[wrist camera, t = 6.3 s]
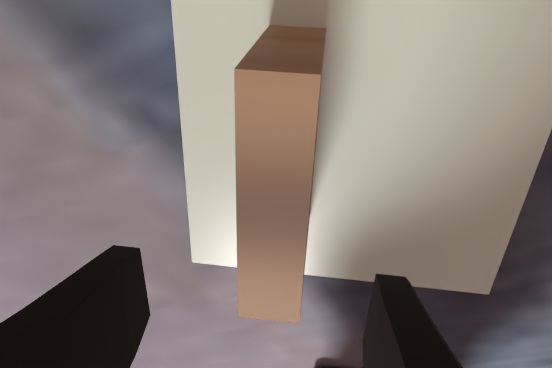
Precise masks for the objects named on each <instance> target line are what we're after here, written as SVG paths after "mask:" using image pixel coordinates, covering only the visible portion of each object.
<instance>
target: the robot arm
mask: <svg viewBox="0 0 552 368" xmlns="http://www.w3.org/2000/svg"><path fill="white" fill-rule="evenodd" d="M149 317H150V310H149V304H148V298H147V291H146V285H145V278H144V272H143V265H142V259H141V253H140V248H134V247H124V246H115V245H113V246H112V247H110V248H109V249H107V250H106V251H104V252H103V253H101V254H100V255H98V256H97V257H96V258H94V259H93V260H91V261H90V262H89V263H87V264H86V265H84V266H83V267H82V268H80V269H79V270H77V271H76V272H75V273H73V274H72V275H70V276H69V277H68V278H66V279H65V280H63V281H62V282H61V283H59V284H58V285H56V286H55V287H53V288H52V289H51V290H49V291H48V292H46V293H45V294H43V295H42V296H41V297H39V298H38V299H36V300H35V301H33V302H32V303H31V304H29V305H28V306H26V307H25V308H23V309H22V310H20V311H19V312H17V313H16V314H14V315H12V316H11V317H9V318H8V319H6V320H5V321H3V322H2V323H0V368H130V366H131V364H132V362H133V360H134V358H135V355H136V353H137V350H138V347H139V345H140V342H141V339H142V337H143V334H144V331H145V328H146V325H147V322H148V320H149ZM363 368H463V367H462V366H461V364H460V363H459V361H458V360H457V358H456V357H455V355H454V354H453V352H452V351H451V349H450V348H449V346H448V345H447V343H446V342H445V340H444V339H443V337H442V336H441V334H440V332H439V331H438V329H437V328H436V326H435V324H434V323H433V321H432V319H431V318H430V316H429V315H428V313H427V311H426V309H425V308H424V306H423V304H422V303H421V301H420V299H419V297H418V296H417V294H416V292H415V290H414V289H413V287H412V285H411V283H410V281H409V280H408V279H407V278H406V277H403V276H394V275H385V274H376V275H375V281H374V286H373V291H372V296H371V301H370V306H369V311H368V316H367V321H366V327H365V332H364V337H363Z"/></svg>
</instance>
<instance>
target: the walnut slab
mask: <svg viewBox="0 0 552 368" xmlns="http://www.w3.org/2000/svg"><path fill="white" fill-rule="evenodd" d="M325 38H326V28H312V27H295V26H277V25H269V26H268V27H267V29H266V30H265V31H264V32H263V34H262V35H261V36H260V37H259V39H258V40H257V41H256V42H255V44H254V45H253V46H252V47H251V49H250V50H249V51H248V52H247V54H246V55H245V56H244V57H243V59H242V60H241V61H240V62H239V64H238V65H237V66H236V67H235V69H234V91H235V161H236V232H237V303H238V316H240V317H248V318H257V319H265V320H273V321H282V322H290V323H298V324H299V321H300V311H301V301H302V291H303V281H304V270H305V260H306V250H307V240H308V230H309V220H310V208H311V197H312V186H313V174H314V163H315V152H316V140H317V129H318V118H319V106H320V95H321V84H322V72H323V61H324V50H325Z"/></svg>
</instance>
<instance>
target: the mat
mask: <svg viewBox="0 0 552 368" xmlns="http://www.w3.org/2000/svg"><path fill="white" fill-rule="evenodd" d="M171 7H172V19H173V31H174V44H175V56H176V68H177V81H178V93H179V106H180V118H181V130H182V143H183V155H184V167H185V180H186V192H187V204H188V217H189V229H190V242H191V254H192V262H194V263H203V264H213V265H222V266H231V267H237V232H236V161H235V91H234V69H235V67H236V66H237V65H238V64H239V62H240V61H241V60H242V59H243V57H244V56H245V55H246V54H247V52H248V51H249V50H250V49H251V47H252V46H253V45H254V44H255V42H256V41H257V40H258V39H259V37H260V36H261V35H262V34H263V32H264V31H265V30H266V29H267V27H268V26H269V25H277V26H295V27H312V28H326V38H325V50H324V61H323V72H322V84H321V95H320V106H319V118H318V129H317V140H316V152H315V163H314V174H313V186H312V197H311V208H310V220H309V230H308V240H307V250H306V260H305V270H304V275H313V276H322V277H331V278H341V279H350V280H359V281H368V282H374V281H375V275H376V274H385V275H394V276H403V277H406V278H407V279H408V280H409V281H410V283H411V285H412V286H414V287H423V288H432V289H441V290H450V291H460V292H469V293H478V294H487V295H489V293H490V290H491V288H492V285H493V282H494V280H495V277H496V274H497V272H498V269H499V267H500V264H501V261H502V259H503V256H504V253H505V251H506V248H507V245H508V243H509V240H510V237H511V235H512V232H513V230H514V227H515V224H516V222H517V219H518V216H519V214H520V211H521V208H522V206H523V203H524V201H525V198H526V195H527V193H528V190H529V187H530V185H531V182H532V179H533V177H534V174H535V171H536V169H537V166H538V164H539V161H540V158H541V156H542V153H543V150H544V148H545V145H546V142H547V140H548V137H549V135H550V132H551V129H552V0H171Z"/></svg>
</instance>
